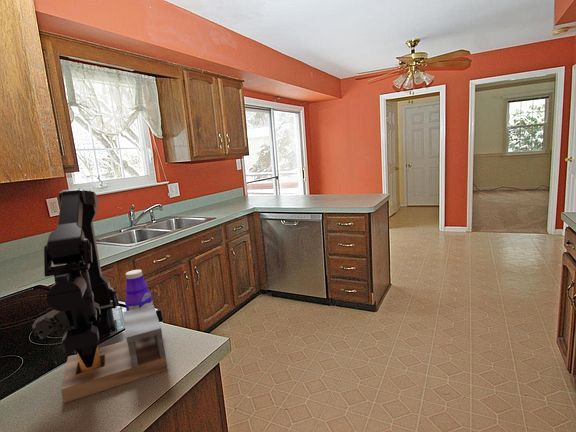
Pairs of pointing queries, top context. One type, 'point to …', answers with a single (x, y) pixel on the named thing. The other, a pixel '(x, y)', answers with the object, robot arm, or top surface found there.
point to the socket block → (120, 358)
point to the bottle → (137, 291)
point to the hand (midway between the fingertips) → (90, 360)
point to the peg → (95, 363)
